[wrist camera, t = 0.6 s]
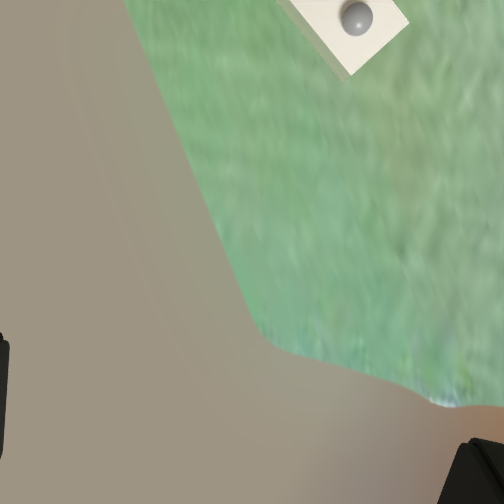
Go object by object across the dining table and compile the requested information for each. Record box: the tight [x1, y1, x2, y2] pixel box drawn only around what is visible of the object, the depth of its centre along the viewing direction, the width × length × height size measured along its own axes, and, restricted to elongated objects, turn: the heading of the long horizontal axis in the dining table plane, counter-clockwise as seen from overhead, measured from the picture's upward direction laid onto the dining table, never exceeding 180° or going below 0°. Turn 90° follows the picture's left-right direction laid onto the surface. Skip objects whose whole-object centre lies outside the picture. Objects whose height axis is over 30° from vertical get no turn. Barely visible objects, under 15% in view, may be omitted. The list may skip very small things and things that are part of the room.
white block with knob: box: [275, 0, 409, 82], centre depth 28 cm, size 4×8×6 cm, turn 42°
